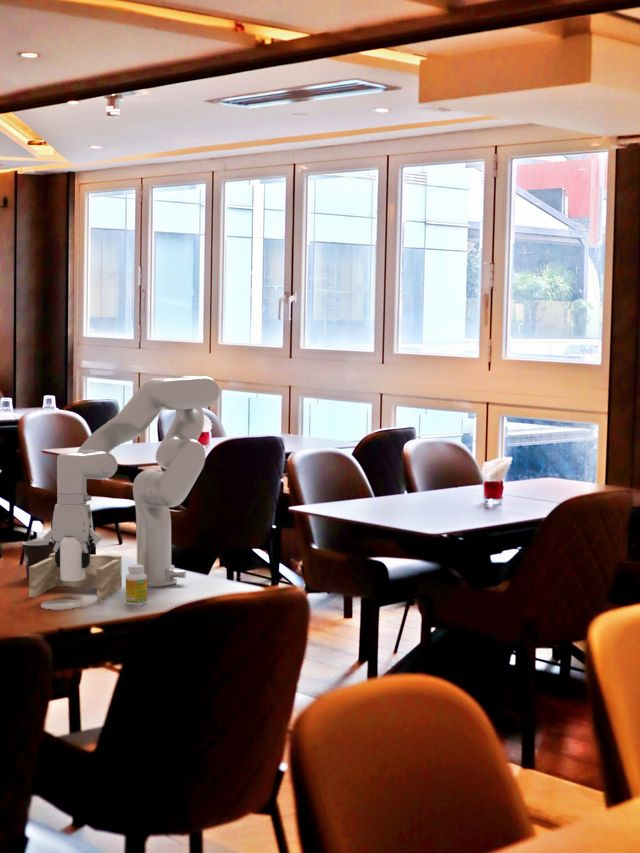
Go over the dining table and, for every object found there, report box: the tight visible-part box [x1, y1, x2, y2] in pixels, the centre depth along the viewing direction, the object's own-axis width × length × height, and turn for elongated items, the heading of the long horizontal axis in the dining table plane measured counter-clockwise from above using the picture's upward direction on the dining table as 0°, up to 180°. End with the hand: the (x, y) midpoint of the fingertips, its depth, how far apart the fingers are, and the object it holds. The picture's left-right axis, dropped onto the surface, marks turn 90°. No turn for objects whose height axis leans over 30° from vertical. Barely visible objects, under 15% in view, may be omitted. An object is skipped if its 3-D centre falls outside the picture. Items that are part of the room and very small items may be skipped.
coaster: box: [40, 598, 82, 611], centre depth 308 cm, size 10×10×1 cm
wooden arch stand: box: [28, 553, 123, 600], centre depth 324 cm, size 20×16×9 cm
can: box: [60, 536, 85, 582], centre depth 321 cm, size 6×6×12 cm
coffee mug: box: [22, 539, 54, 580], centre depth 346 cm, size 12×9×10 cm
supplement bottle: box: [125, 564, 148, 606], centre depth 311 cm, size 5×5×10 cm
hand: (72, 566), depth 321 cm, fingers closed on can, 6 cm apart
